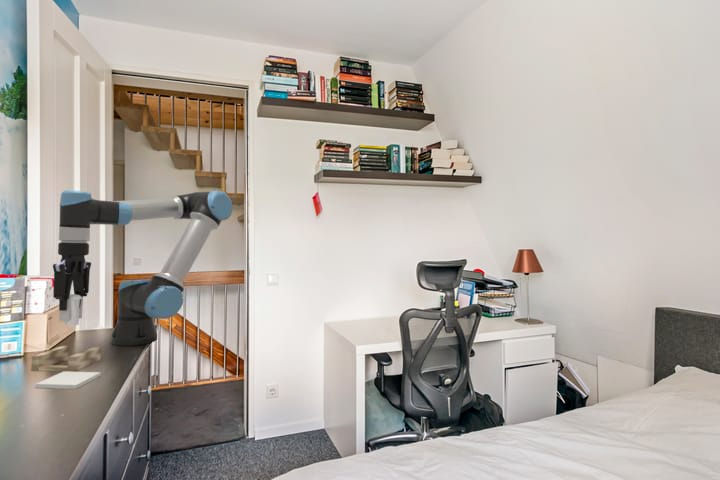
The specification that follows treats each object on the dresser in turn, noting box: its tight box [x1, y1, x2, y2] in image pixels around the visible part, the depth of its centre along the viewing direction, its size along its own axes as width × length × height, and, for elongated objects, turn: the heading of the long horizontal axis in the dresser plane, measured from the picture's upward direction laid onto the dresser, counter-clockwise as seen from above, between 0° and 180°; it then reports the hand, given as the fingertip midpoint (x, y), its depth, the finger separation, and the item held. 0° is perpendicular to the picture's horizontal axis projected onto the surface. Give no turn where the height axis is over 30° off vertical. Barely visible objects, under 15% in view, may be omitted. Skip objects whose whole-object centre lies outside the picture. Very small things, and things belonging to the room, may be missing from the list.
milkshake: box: [64, 293, 82, 327], centre depth 119 cm, size 4×5×10 cm
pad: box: [34, 371, 102, 390], centre depth 105 cm, size 10×10×1 cm
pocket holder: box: [30, 345, 102, 372], centre depth 118 cm, size 12×12×4 cm
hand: (70, 319), depth 119 cm, fingers closed on milkshake, 4 cm apart
